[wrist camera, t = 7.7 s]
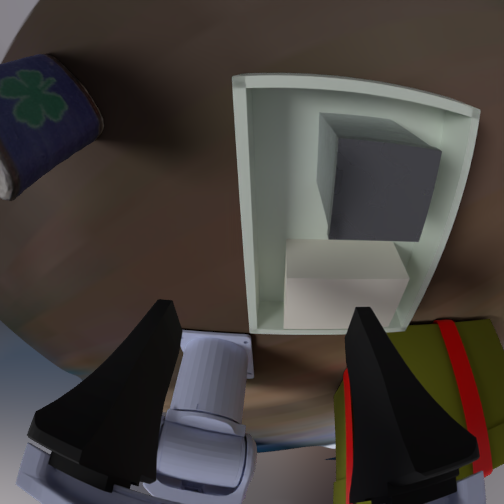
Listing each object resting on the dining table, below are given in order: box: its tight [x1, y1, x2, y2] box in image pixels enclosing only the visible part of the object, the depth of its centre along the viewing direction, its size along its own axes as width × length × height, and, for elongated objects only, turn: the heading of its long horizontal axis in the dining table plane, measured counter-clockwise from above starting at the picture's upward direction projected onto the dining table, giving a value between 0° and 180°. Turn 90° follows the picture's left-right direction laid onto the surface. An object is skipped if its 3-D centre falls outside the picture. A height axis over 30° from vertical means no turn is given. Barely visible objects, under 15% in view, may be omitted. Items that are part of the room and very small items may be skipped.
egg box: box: [284, 239, 410, 329], centre depth 20 cm, size 5×8×4 cm, turn 92°
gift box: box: [333, 319, 504, 504], centre depth 21 cm, size 21×21×25 cm
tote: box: [232, 73, 481, 335], centre depth 17 cm, size 18×13×4 cm
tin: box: [316, 112, 442, 242], centre depth 13 cm, size 5×5×6 cm
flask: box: [0, 54, 104, 201], centre depth 10 cm, size 9×3×11 cm, turn 35°
